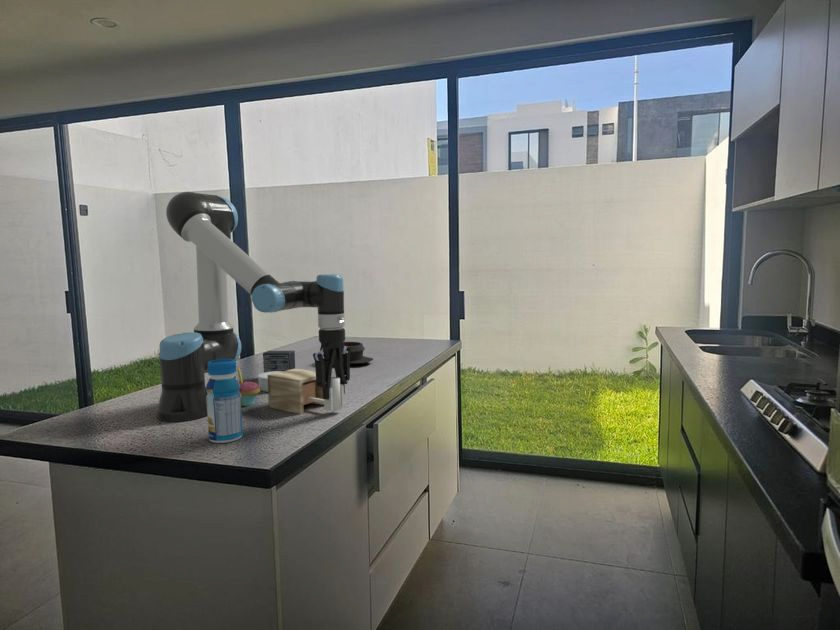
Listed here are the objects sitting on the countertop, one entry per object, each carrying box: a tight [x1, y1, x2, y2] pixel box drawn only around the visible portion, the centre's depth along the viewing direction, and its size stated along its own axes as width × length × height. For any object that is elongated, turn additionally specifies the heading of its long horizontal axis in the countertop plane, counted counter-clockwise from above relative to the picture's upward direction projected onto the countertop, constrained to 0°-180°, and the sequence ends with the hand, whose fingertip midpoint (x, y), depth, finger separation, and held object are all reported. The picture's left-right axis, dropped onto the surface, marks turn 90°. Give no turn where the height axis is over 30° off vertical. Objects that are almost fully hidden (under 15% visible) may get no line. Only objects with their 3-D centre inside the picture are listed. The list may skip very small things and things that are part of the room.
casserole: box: [329, 341, 374, 366], centre depth 234 cm, size 25×19×8 cm
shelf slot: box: [267, 367, 324, 415], centre depth 167 cm, size 11×14×10 cm
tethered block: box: [303, 376, 342, 411], centre depth 163 cm, size 6×18×9 cm, turn 55°
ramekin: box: [257, 371, 283, 393], centre depth 190 cm, size 11×11×5 cm
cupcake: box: [237, 367, 261, 407], centre depth 171 cm, size 9×8×12 cm
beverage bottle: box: [205, 359, 244, 444], centre depth 138 cm, size 8×8×20 cm
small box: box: [262, 350, 296, 373], centre depth 206 cm, size 11×6×10 cm, turn 84°
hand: (334, 407), depth 159 cm, fingers closed on tethered block, 4 cm apart
